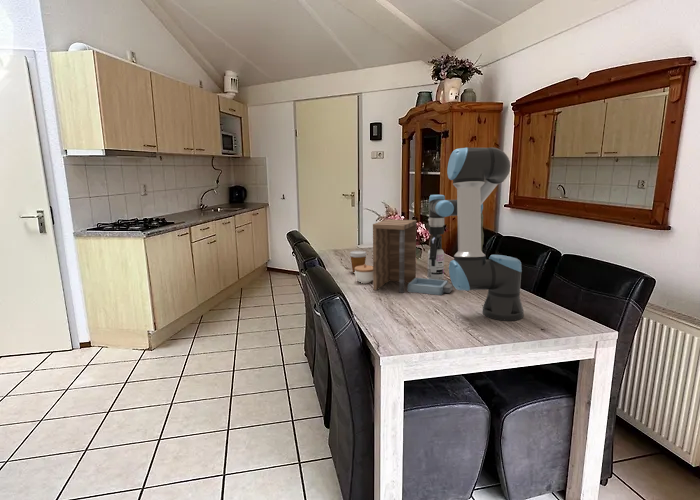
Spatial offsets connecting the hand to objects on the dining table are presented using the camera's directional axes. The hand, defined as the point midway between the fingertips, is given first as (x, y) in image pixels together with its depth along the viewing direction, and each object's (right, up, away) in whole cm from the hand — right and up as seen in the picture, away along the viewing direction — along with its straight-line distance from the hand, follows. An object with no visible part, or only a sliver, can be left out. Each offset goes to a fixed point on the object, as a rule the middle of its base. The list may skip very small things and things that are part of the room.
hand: (435, 270), depth 208 cm
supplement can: (0, -4, +1) cm, 5 cm away
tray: (-5, -9, -14) cm, 17 cm away
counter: (-21, -8, -6) cm, 23 cm away
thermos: (+22, -4, +11) cm, 25 cm away
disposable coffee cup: (-39, -3, +22) cm, 45 cm away
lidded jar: (-36, -6, +3) cm, 36 cm away
